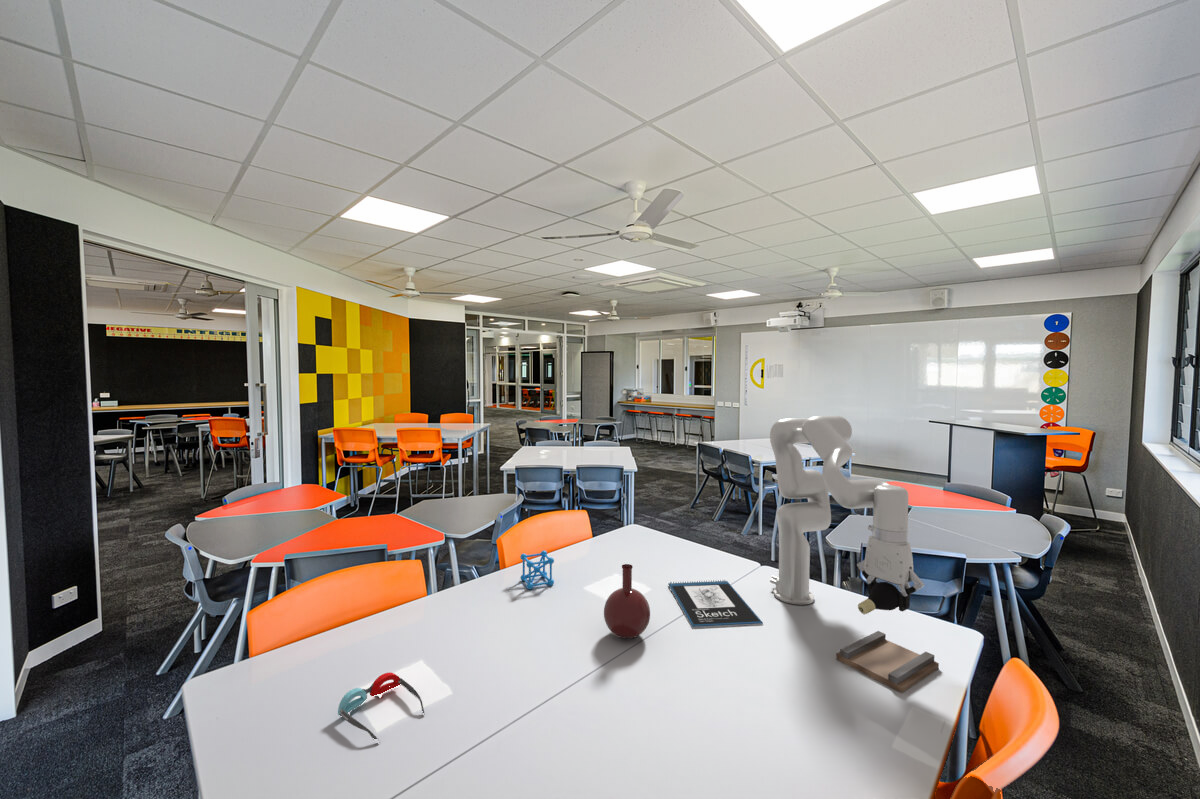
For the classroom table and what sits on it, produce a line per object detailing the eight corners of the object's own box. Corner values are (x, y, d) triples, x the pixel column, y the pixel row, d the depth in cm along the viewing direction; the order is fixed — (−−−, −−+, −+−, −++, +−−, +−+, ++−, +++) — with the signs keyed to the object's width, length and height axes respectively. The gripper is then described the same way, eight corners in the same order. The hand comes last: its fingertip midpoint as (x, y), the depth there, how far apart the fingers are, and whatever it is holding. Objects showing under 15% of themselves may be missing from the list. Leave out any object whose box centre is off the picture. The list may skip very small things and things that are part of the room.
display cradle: (836, 659, 125) (836, 647, 125) (874, 639, 134) (874, 629, 134) (901, 693, 111) (901, 680, 111) (938, 668, 121) (938, 657, 121)
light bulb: (861, 593, 117) (895, 575, 121) (844, 598, 123) (877, 580, 127) (878, 621, 114) (912, 602, 118) (860, 625, 120) (893, 606, 124)
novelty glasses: (396, 687, 114) (396, 666, 113) (432, 713, 104) (432, 691, 104) (334, 719, 103) (334, 696, 102) (369, 752, 93) (369, 727, 93)
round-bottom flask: (595, 640, 133) (595, 569, 133) (616, 620, 145) (616, 554, 144) (639, 653, 127) (639, 579, 126) (656, 630, 139) (657, 562, 138)
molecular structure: (519, 580, 174) (519, 553, 174) (545, 575, 178) (545, 549, 178) (527, 591, 165) (527, 562, 165) (555, 586, 169) (555, 558, 169)
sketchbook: (692, 630, 140) (692, 623, 140) (667, 586, 170) (667, 581, 170) (763, 626, 143) (763, 619, 143) (726, 583, 172) (726, 578, 172)
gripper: (848, 528, 127) (846, 594, 128) (919, 547, 112) (917, 622, 113) (864, 523, 131) (862, 588, 132) (935, 541, 116) (933, 614, 117)
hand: (888, 603), depth 122 cm, fingers closed on light bulb, 6 cm apart
